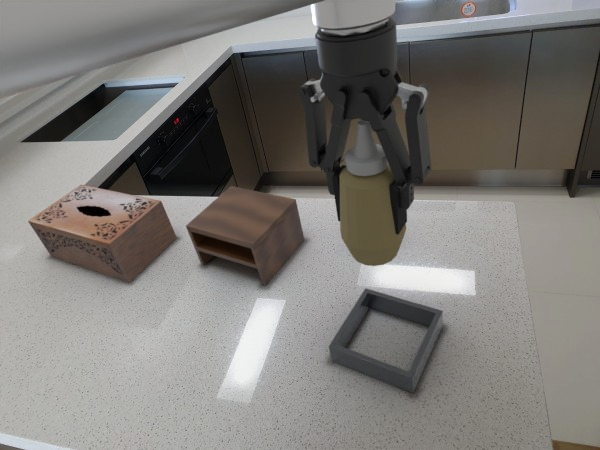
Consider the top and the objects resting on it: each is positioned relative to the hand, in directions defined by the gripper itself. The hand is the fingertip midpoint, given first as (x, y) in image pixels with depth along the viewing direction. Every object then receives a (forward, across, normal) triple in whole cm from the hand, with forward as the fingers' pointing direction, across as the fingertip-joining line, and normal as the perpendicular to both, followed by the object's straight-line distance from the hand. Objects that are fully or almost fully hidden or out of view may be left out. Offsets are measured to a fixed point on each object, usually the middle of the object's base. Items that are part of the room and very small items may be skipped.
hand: (371, 220), depth 56 cm
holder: (+23, -1, 0) cm, 23 cm away
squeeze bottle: (+5, 0, 0) cm, 5 cm away
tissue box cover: (+24, +64, 0) cm, 68 cm away
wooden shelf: (+23, +32, -10) cm, 41 cm away
